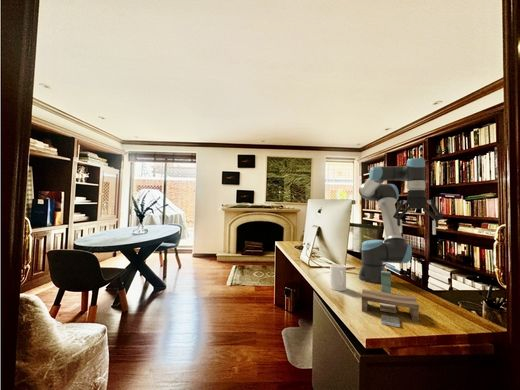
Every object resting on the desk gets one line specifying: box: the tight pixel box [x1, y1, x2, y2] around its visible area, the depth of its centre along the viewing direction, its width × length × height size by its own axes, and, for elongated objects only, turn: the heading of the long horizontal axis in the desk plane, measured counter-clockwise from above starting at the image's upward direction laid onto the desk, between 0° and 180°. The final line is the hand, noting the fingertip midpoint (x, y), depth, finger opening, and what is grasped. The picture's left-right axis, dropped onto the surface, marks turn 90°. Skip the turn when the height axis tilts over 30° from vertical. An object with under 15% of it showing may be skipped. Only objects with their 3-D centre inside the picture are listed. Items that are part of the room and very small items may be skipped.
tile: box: [380, 314, 401, 328], centre depth 91 cm, size 6×6×2 cm
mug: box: [329, 263, 347, 292], centre depth 127 cm, size 12×8×12 cm
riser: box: [361, 288, 420, 322], centre depth 100 cm, size 10×20×6 cm, turn 65°
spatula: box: [379, 270, 397, 314], centre depth 109 cm, size 20×6×12 cm, turn 155°
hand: (417, 233), depth 117 cm, fingers open, 13 cm apart
